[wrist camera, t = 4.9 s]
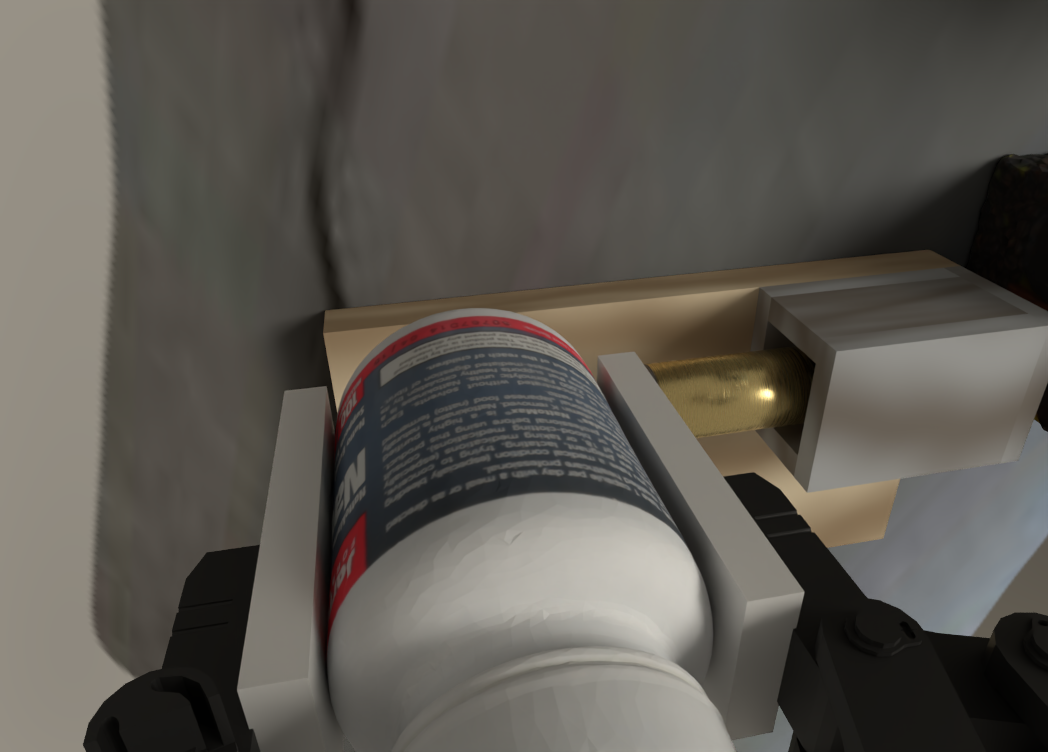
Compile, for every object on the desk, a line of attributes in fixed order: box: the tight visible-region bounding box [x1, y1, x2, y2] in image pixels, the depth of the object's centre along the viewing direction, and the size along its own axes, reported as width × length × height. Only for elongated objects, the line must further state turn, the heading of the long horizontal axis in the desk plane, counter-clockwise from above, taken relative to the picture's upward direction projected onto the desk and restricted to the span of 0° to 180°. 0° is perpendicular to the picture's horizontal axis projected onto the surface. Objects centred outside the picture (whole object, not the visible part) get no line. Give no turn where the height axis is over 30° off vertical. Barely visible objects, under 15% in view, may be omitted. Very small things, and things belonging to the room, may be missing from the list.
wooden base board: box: [323, 250, 1048, 548], centre depth 31 cm, size 16×26×8 cm, turn 92°
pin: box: [644, 346, 816, 438], centre depth 29 cm, size 3×8×3 cm, turn 92°
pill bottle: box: [327, 308, 737, 752], centre depth 11 cm, size 5×5×9 cm
